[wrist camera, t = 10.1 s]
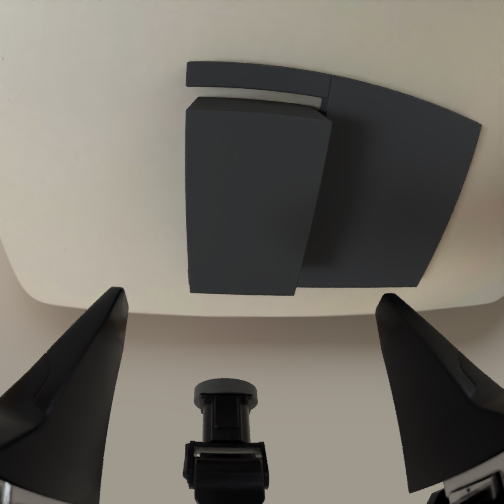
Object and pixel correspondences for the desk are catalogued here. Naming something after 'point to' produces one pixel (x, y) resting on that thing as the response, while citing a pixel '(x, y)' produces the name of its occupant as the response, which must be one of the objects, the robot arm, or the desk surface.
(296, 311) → the desk surface
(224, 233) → the foam pad
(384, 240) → the base pad
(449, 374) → the robot arm
